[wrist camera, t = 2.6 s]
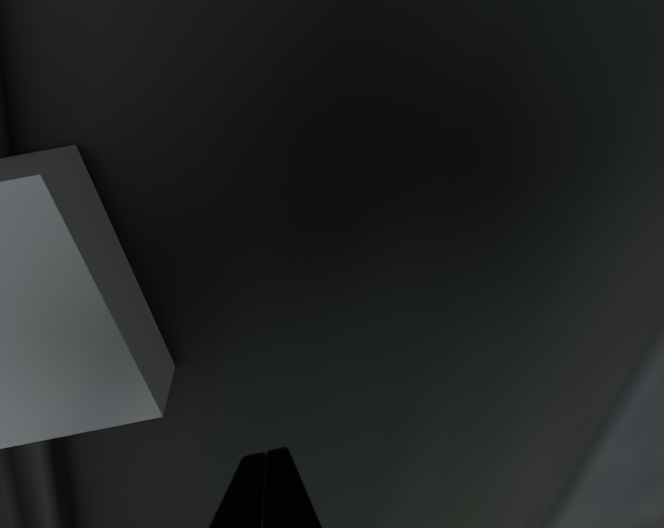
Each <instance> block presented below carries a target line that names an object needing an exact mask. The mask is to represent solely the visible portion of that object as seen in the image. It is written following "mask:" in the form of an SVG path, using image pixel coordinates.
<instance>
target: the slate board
mask: <svg viewBox="0 0 664 528" xmlns="http://www.w3.org/2000/svg"><path fill="white" fill-rule="evenodd" d="M174 369H175V365H174V362H173V360H172V358H171V356H170V353H169V351H168V349H167V347H166V345H165V342H164V340H163V338H162V336H161V333H160V331H159V329H158V327H157V325H156V322H155V320H154V318H153V316H152V313H151V311H150V309H149V307H148V305H147V302H146V300H145V298H144V296H143V293H142V291H141V289H140V287H139V284H138V282H137V280H136V278H135V276H134V273H133V271H132V269H131V267H130V264H129V262H128V260H127V258H126V256H125V253H124V251H123V249H122V247H121V244H120V242H119V240H118V238H117V236H116V233H115V231H114V229H113V227H112V224H111V222H110V220H109V218H108V216H107V213H106V211H105V209H104V207H103V204H102V202H101V200H100V198H99V195H98V193H97V191H96V189H95V187H94V184H93V182H92V180H91V178H90V175H89V173H88V171H87V169H86V167H85V164H84V162H83V160H82V158H81V155H80V153H79V151H78V149H77V147H76V145H71V146H66V147H60V148H55V149H49V150H44V151H39V152H33V153H28V154H22V155H17V156H12V157H6V158H1V159H0V449H2V448H7V447H12V446H17V445H22V444H27V443H32V442H37V441H43V440H48V439H53V438H58V437H63V436H68V435H73V434H78V433H83V432H88V431H93V430H98V429H103V428H108V427H114V426H119V425H124V424H129V423H134V422H139V421H144V420H149V419H154V418H159V417H163V414H164V410H165V406H166V402H167V398H168V394H169V389H170V385H171V381H172V377H173V373H174Z"/></svg>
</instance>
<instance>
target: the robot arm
mask: <svg viewBox="0 0 664 528" xmlns="http://www.w3.org/2000/svg"><path fill="white" fill-rule="evenodd" d="M208 528H322V526H321V524H320V522H319V519H318V517H317V515H316V512H315V510H314V508H313V505H312V503H311V501H310V498H309V496H308V494H307V491H306V489H305V487H304V484H303V482H302V479H301V477H300V475H299V472H298V470H297V468H296V465H295V463H294V461H293V458H292V456H291V454H290V451H289V449H288V448H287V447H283V448H278V449H274V450H269V451H268V452H267V453H266V454H265V453H263V452H260V453H256V454H251V455H247V456H244V457H243V458H242V459H241V460H240V462H239V464H238V466H237V469H236V471H235V473H234V475H233V477H232V479H231V481H230V483H229V485H228V487H227V489H226V491H225V493H224V495H223V498H222V500H221V502H220V504H219V506H218V508H217V510H216V512H215V514H214V516H213V518H212V520H211V522H210V524H209V527H208Z"/></svg>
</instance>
